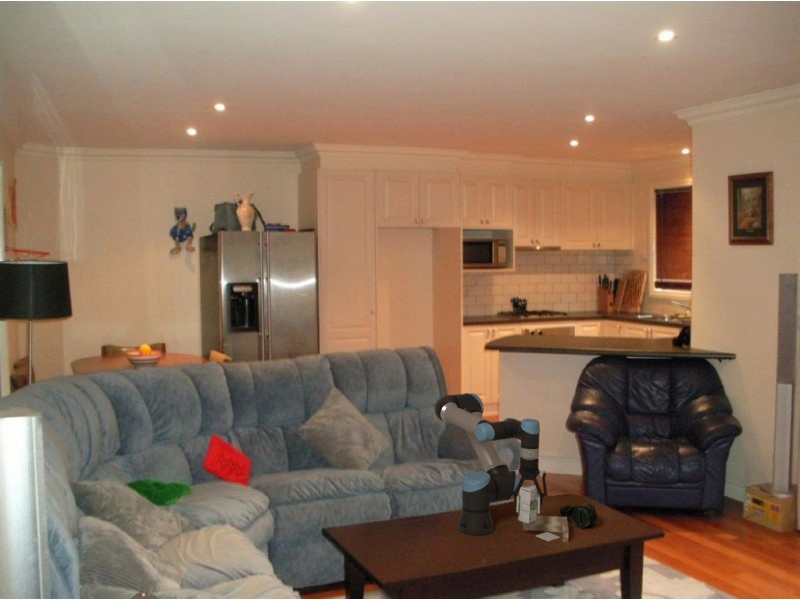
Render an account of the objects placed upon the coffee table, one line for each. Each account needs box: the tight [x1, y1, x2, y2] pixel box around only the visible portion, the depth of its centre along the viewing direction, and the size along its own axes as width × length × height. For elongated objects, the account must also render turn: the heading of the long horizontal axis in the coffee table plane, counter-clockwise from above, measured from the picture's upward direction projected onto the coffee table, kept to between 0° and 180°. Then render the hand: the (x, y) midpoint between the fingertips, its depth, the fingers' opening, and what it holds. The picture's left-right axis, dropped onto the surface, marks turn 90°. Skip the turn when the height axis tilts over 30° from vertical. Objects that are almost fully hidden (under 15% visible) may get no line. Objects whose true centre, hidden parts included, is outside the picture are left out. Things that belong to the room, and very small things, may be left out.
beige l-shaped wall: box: [522, 514, 569, 543], centre depth 310 cm, size 18×13×6 cm
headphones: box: [559, 503, 598, 529], centre depth 325 cm, size 13×13×20 cm
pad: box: [535, 531, 561, 542], centre depth 308 cm, size 7×7×1 cm
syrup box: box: [517, 483, 539, 524], centre depth 306 cm, size 6×6×14 cm
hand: (527, 511), depth 306 cm, fingers closed on syrup box, 8 cm apart
